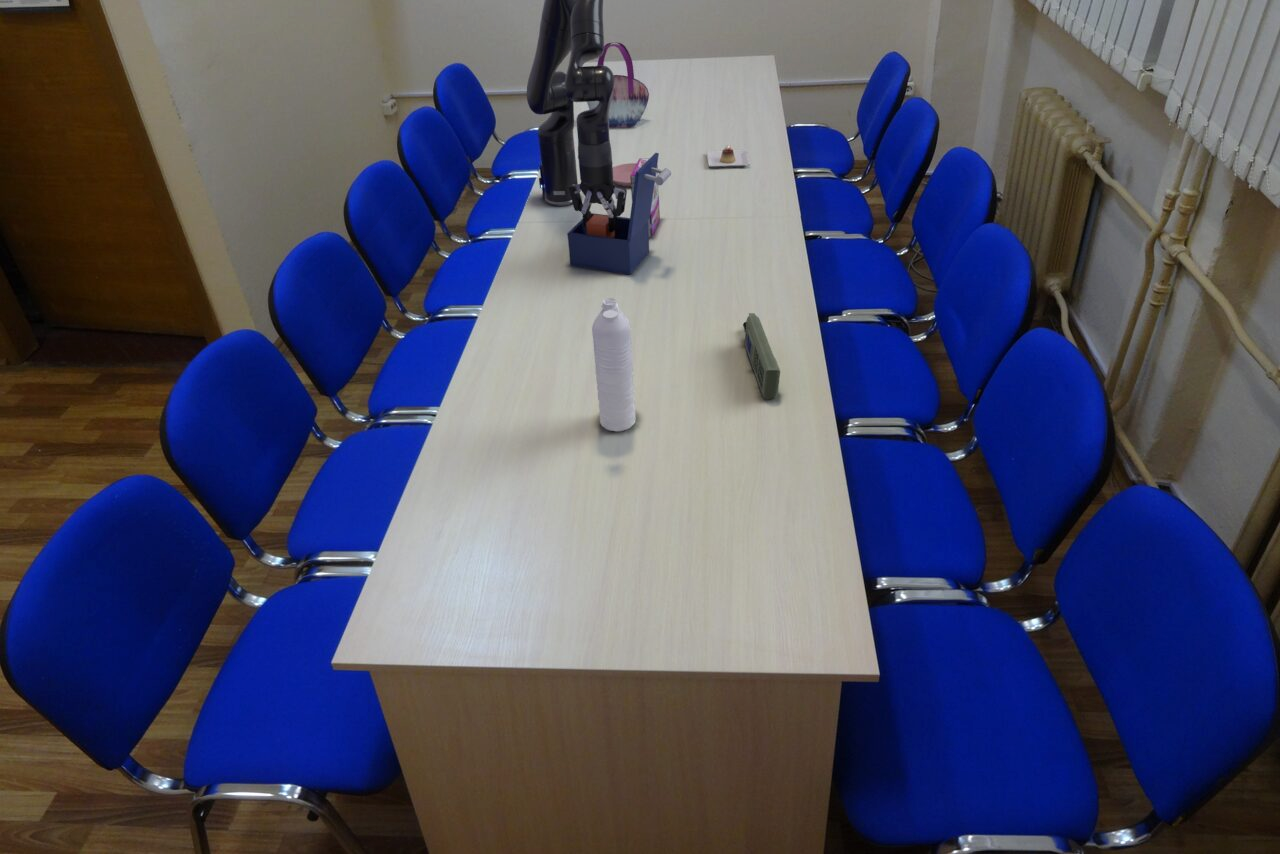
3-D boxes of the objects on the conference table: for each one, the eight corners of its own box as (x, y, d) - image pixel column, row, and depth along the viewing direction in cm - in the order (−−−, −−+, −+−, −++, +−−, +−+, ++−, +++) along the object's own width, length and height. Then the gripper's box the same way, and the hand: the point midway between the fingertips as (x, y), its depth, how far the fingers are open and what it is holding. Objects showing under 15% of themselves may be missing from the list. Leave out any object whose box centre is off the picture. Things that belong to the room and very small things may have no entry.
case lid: (635, 172, 184) (659, 178, 182) (655, 152, 192) (677, 158, 191) (627, 239, 194) (649, 246, 193) (646, 218, 203) (667, 224, 202)
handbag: (583, 128, 281) (577, 48, 265) (587, 118, 288) (581, 39, 273) (648, 127, 279) (646, 46, 263) (650, 117, 286) (648, 38, 271)
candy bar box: (641, 218, 224) (638, 157, 214) (660, 219, 223) (658, 158, 213) (632, 237, 215) (629, 174, 205) (652, 238, 214) (649, 175, 204)
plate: (665, 174, 247) (665, 168, 245) (639, 192, 237) (639, 185, 236) (624, 166, 253) (624, 160, 252) (597, 183, 244) (596, 176, 242)
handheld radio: (760, 400, 159) (737, 329, 178) (778, 399, 159) (752, 329, 179) (764, 370, 155) (739, 301, 174) (782, 369, 155) (755, 301, 175)
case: (570, 265, 205) (567, 233, 199) (591, 243, 213) (588, 212, 208) (630, 274, 200) (628, 242, 195) (649, 252, 208) (648, 220, 203)
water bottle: (599, 411, 158) (589, 292, 143) (634, 409, 158) (628, 289, 143) (600, 441, 151) (590, 319, 136) (637, 438, 151) (630, 316, 136)
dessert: (749, 168, 248) (750, 151, 245) (708, 169, 248) (708, 153, 246) (746, 153, 257) (746, 137, 255) (706, 154, 258) (706, 138, 255)
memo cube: (587, 242, 203) (585, 222, 200) (596, 233, 207) (594, 214, 204) (606, 245, 202) (605, 225, 198) (615, 236, 205) (613, 216, 202)
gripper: (631, 156, 193) (634, 226, 203) (573, 150, 197) (579, 219, 208) (618, 168, 187) (622, 240, 198) (559, 162, 192) (566, 232, 202)
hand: (600, 229), depth 203 cm, fingers open, 5 cm apart
